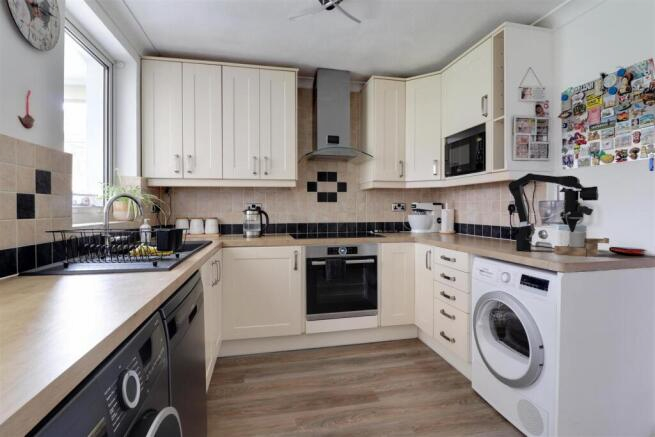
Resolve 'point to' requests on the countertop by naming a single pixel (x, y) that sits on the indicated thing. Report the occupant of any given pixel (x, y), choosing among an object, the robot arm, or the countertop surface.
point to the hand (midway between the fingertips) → (570, 231)
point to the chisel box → (579, 249)
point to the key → (601, 240)
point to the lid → (566, 228)
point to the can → (577, 238)
